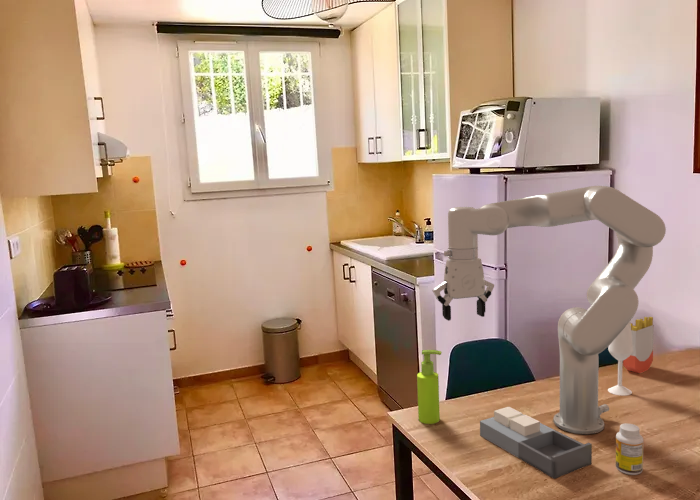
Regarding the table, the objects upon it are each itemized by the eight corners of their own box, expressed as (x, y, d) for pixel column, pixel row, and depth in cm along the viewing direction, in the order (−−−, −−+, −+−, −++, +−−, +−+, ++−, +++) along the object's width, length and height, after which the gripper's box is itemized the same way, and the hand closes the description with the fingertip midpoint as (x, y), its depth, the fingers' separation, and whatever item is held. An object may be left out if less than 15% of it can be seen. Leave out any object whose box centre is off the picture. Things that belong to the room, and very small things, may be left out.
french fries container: (621, 371, 189) (622, 318, 187) (639, 364, 195) (640, 313, 193) (635, 375, 185) (636, 321, 183) (653, 367, 191) (654, 315, 189)
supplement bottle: (619, 461, 133) (620, 419, 132) (645, 468, 130) (646, 425, 128) (612, 471, 129) (612, 428, 128) (639, 478, 126) (640, 434, 124)
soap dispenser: (442, 424, 157) (441, 354, 154) (417, 423, 158) (415, 353, 155) (443, 415, 162) (441, 347, 160) (419, 414, 164) (417, 347, 161)
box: (554, 445, 142) (554, 426, 142) (591, 464, 133) (591, 443, 132) (518, 458, 137) (518, 438, 136) (553, 478, 127) (553, 457, 127)
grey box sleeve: (514, 424, 155) (514, 410, 154) (554, 445, 142) (554, 430, 142) (480, 435, 149) (479, 421, 149) (518, 458, 137) (518, 442, 136)
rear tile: (508, 415, 151) (508, 406, 151) (522, 422, 147) (522, 413, 146) (494, 419, 149) (494, 410, 149) (507, 427, 145) (507, 417, 144)
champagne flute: (607, 394, 172) (609, 316, 168) (607, 386, 178) (608, 310, 175) (632, 396, 169) (634, 317, 166) (631, 388, 175) (632, 312, 172)
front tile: (525, 423, 146) (525, 414, 146) (540, 431, 142) (539, 421, 141) (510, 428, 144) (510, 419, 143) (524, 436, 139) (524, 426, 139)
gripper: (438, 258, 145) (439, 324, 147) (500, 253, 149) (500, 317, 151) (427, 254, 152) (428, 317, 154) (486, 250, 156) (486, 311, 158)
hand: (464, 317), depth 153 cm, fingers open, 9 cm apart
